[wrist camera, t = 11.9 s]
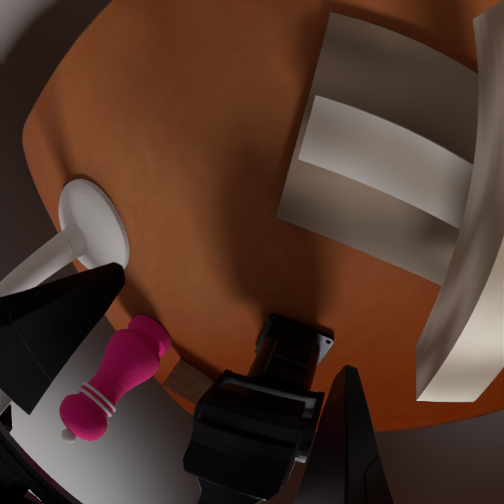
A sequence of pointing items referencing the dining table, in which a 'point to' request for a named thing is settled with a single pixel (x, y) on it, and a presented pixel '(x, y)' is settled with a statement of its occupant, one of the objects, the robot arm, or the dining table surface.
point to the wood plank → (188, 382)
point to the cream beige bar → (473, 252)
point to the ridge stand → (385, 148)
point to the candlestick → (75, 238)
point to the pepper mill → (114, 378)
